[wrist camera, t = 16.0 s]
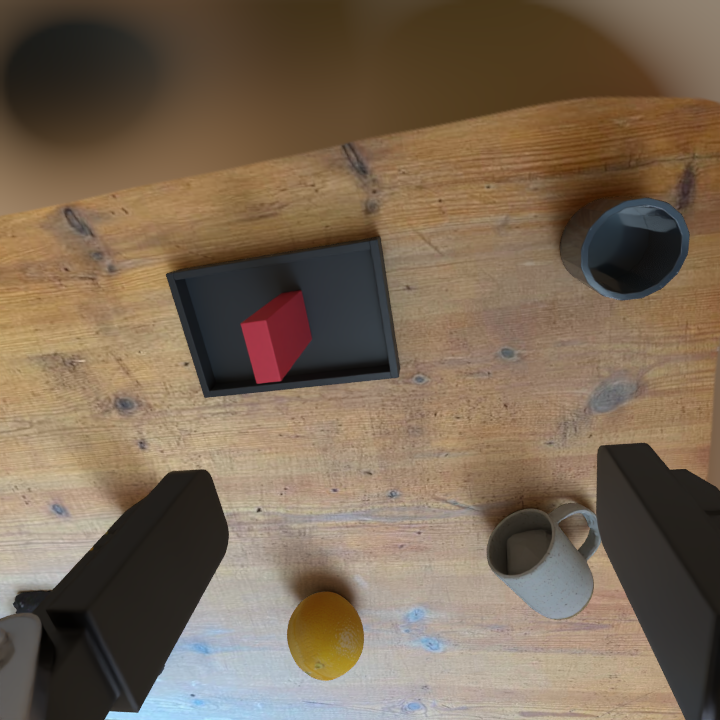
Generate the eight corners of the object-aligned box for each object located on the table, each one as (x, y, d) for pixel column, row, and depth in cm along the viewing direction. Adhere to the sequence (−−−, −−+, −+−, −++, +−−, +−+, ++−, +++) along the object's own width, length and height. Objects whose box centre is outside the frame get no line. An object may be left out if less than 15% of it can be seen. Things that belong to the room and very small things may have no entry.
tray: (380, 236, 39) (377, 239, 37) (400, 368, 43) (398, 377, 41) (178, 269, 43) (165, 273, 40) (214, 388, 47) (204, 398, 45)
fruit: (286, 605, 57) (265, 668, 49) (317, 567, 54) (300, 628, 46) (346, 639, 57) (334, 706, 50) (380, 603, 54) (373, 668, 47)
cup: (580, 187, 36) (606, 187, 31) (668, 208, 35) (709, 212, 30) (546, 272, 38) (565, 286, 33) (628, 293, 38) (659, 310, 33)
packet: (301, 289, 41) (265, 319, 32) (312, 339, 43) (281, 381, 34) (281, 292, 42) (239, 323, 32) (292, 341, 43) (256, 384, 34)
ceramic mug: (526, 578, 50) (544, 643, 43) (480, 530, 48) (491, 589, 41) (613, 532, 47) (648, 594, 39) (566, 479, 45) (594, 533, 38)
